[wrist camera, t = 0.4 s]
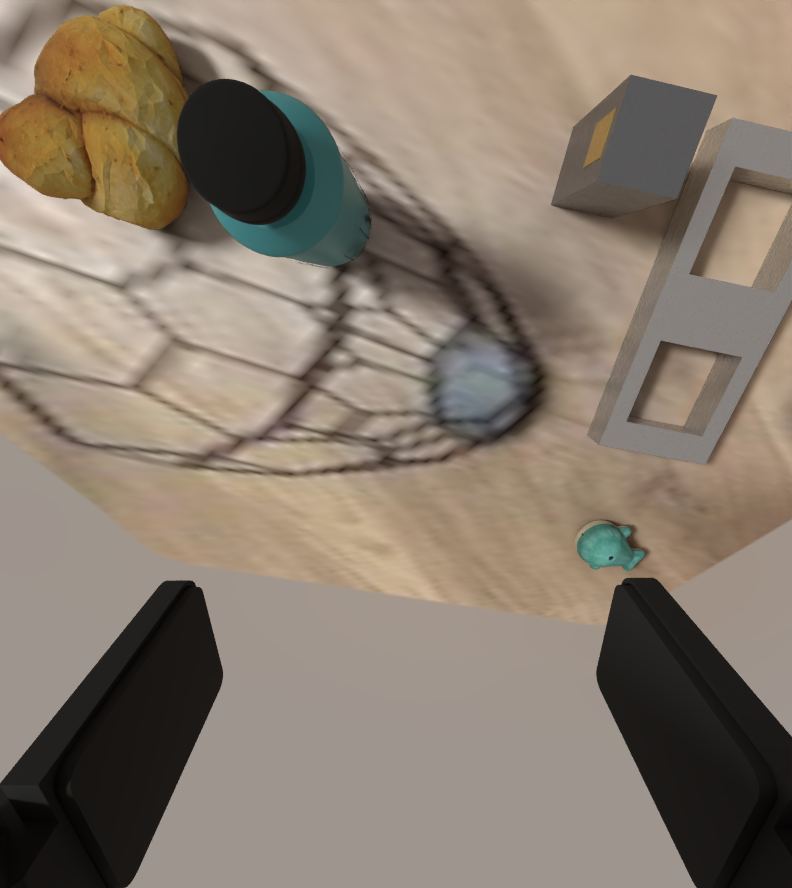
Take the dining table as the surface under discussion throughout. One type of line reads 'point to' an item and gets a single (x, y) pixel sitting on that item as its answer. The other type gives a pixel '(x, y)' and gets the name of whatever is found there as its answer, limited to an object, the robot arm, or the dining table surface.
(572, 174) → the block
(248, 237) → the beverage bottle
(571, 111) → the dining table surface
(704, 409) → the rail
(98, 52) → the bread roll
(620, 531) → the whale figurine
